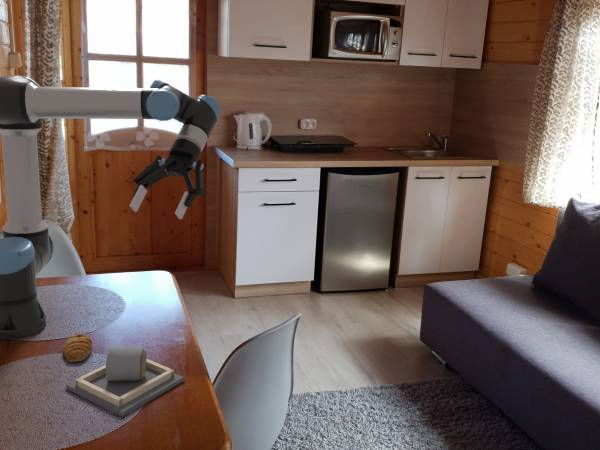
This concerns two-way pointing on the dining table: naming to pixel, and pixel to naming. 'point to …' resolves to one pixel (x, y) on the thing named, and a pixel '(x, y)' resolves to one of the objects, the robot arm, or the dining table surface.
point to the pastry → (77, 347)
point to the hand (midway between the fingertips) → (155, 212)
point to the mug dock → (125, 388)
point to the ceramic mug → (125, 364)
